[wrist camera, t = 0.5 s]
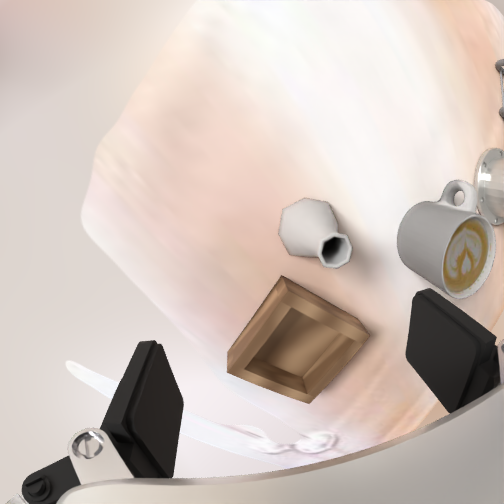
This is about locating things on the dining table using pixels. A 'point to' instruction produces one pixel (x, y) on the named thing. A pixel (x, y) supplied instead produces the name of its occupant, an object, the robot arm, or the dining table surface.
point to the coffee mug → (448, 242)
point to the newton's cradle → (503, 62)
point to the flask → (314, 233)
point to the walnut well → (295, 343)
